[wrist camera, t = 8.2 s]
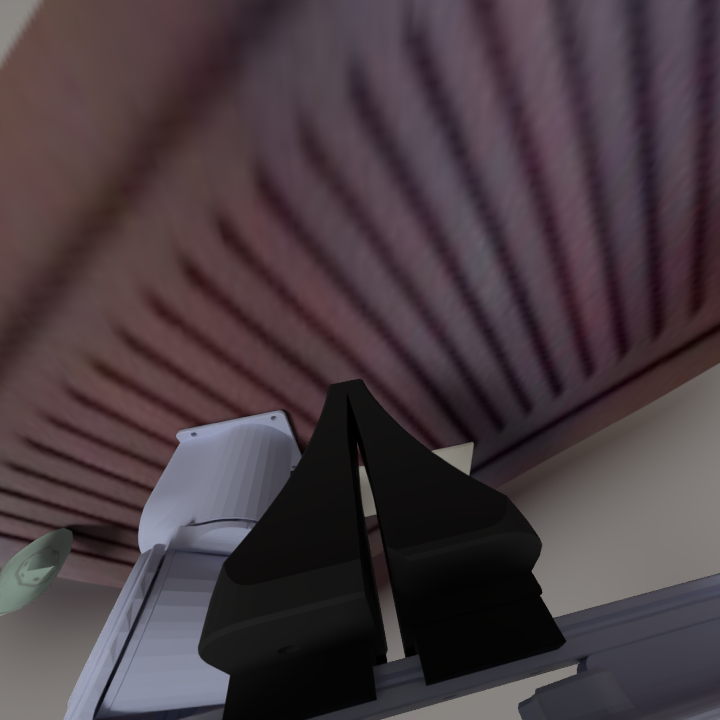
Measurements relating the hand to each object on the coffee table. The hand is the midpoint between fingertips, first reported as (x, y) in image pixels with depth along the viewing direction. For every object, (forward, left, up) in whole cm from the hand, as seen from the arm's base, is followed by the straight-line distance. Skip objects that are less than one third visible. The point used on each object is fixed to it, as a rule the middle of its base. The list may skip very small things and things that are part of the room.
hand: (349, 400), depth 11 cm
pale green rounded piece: (-32, -18, -11) cm, 38 cm away
